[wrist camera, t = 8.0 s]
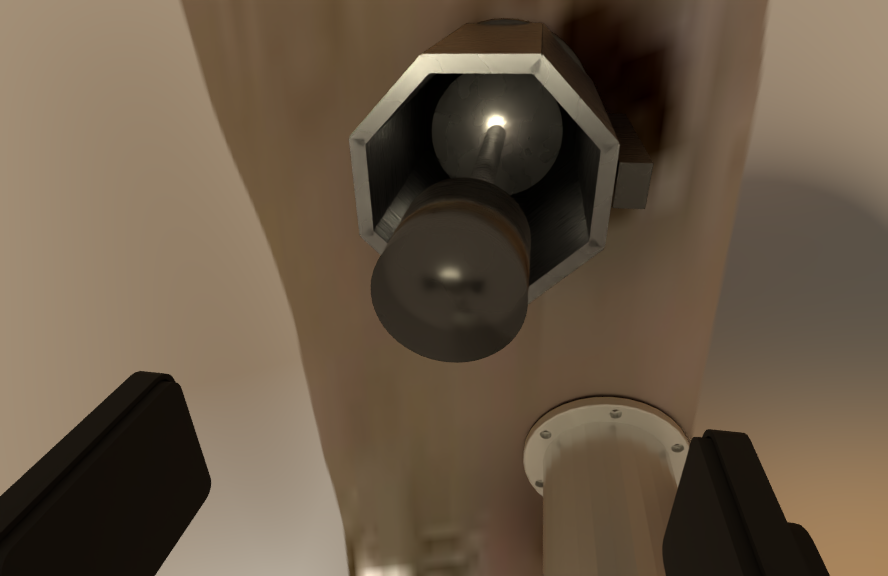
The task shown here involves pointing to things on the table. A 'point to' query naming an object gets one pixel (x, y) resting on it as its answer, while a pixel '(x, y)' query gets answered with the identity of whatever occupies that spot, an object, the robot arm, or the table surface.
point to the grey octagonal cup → (545, 203)
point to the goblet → (470, 222)
